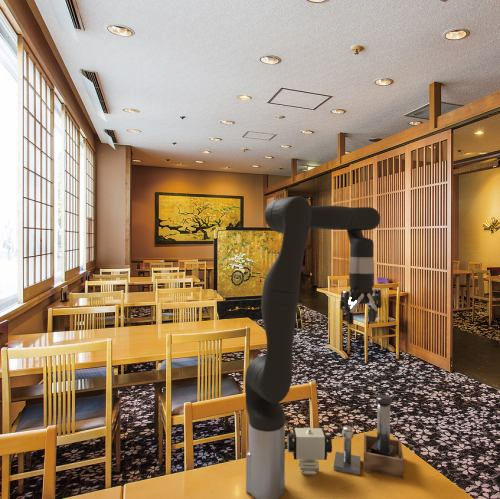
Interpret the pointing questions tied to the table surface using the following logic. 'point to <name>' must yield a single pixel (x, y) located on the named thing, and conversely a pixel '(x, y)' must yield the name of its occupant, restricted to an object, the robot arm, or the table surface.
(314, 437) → the pneumatic rotary actuator
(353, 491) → the table surface
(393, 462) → the bin
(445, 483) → the table surface
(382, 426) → the strut
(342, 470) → the stud mount
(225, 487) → the table surface
